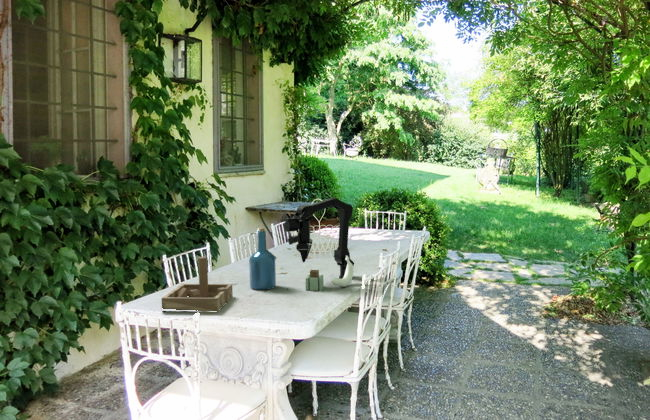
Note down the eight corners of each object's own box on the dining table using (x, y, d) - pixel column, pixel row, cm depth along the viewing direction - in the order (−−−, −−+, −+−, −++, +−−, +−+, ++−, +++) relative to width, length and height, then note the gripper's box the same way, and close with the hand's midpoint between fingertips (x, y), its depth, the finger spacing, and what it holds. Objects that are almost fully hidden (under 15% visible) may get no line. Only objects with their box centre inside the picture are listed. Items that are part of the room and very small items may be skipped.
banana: (330, 290, 281) (330, 260, 280) (347, 282, 298) (346, 254, 297) (339, 291, 279) (339, 261, 278) (355, 283, 296) (355, 255, 294)
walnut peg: (319, 287, 287) (318, 269, 286) (318, 289, 283) (318, 271, 282) (311, 287, 287) (310, 269, 286) (310, 289, 283) (309, 271, 282)
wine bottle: (251, 291, 281) (250, 230, 278) (248, 285, 294) (246, 227, 291) (279, 289, 285) (278, 229, 282) (274, 283, 297) (273, 225, 294)
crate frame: (182, 296, 273) (182, 283, 272) (232, 296, 271) (232, 284, 270) (162, 311, 246) (161, 298, 245) (217, 312, 244) (216, 298, 243)
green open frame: (307, 286, 289) (307, 274, 289) (323, 286, 289) (323, 274, 288) (305, 290, 281) (305, 278, 281) (322, 290, 281) (321, 278, 280)
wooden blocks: (169, 305, 257) (167, 261, 256) (207, 297, 271) (205, 255, 269) (190, 312, 245) (187, 266, 243) (228, 303, 259) (226, 259, 257)
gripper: (291, 227, 304) (291, 257, 305) (285, 232, 285) (286, 263, 287) (312, 227, 303) (312, 257, 304) (308, 232, 284) (308, 263, 286)
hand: (304, 260), depth 295 cm, fingers open, 9 cm apart
